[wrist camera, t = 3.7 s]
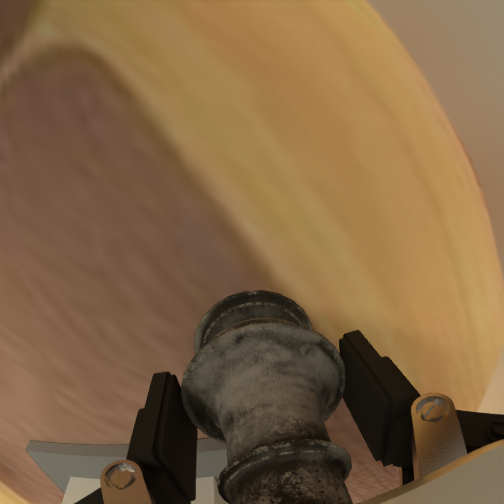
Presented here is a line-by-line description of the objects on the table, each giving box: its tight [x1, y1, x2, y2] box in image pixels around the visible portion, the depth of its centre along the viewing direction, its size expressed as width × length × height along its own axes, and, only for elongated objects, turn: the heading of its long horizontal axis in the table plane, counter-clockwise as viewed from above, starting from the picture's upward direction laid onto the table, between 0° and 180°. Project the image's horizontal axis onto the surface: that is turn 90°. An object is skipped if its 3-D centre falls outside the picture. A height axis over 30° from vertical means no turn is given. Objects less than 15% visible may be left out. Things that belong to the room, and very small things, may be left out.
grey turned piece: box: [181, 290, 353, 504], centre depth 8 cm, size 6×6×12 cm
